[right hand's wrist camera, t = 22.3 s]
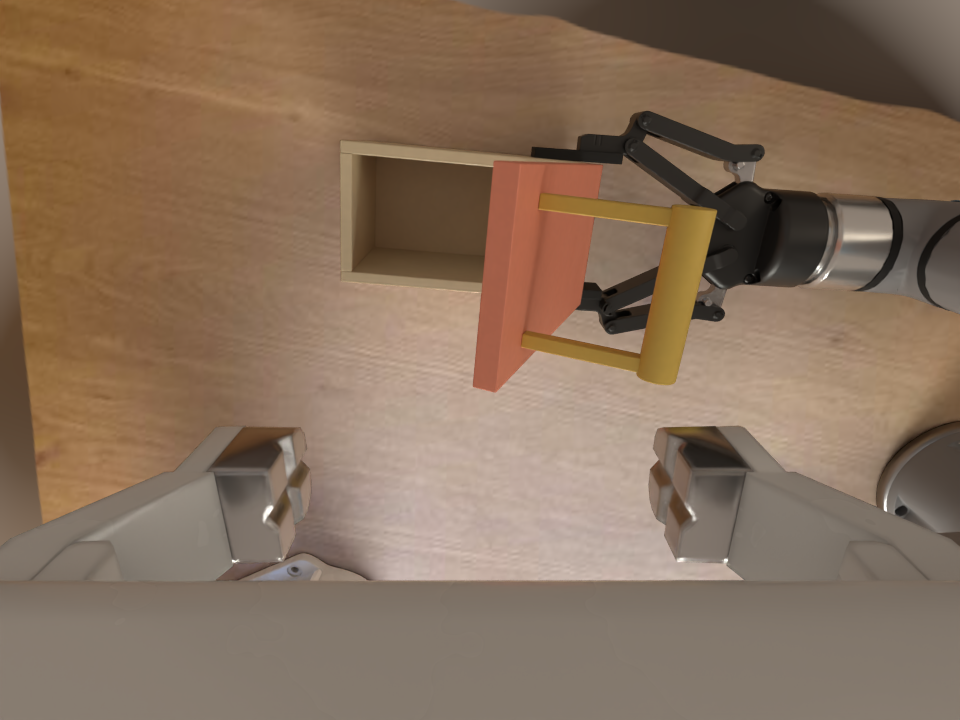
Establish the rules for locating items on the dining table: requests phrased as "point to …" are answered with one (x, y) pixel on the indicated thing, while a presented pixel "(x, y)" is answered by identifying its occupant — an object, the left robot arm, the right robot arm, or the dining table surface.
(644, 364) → the lid
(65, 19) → the dining table surface
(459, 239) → the chest
